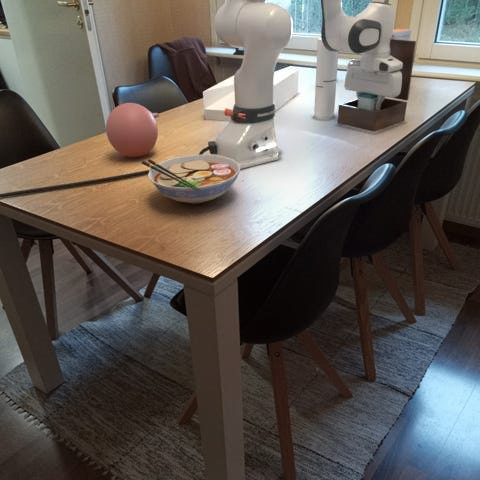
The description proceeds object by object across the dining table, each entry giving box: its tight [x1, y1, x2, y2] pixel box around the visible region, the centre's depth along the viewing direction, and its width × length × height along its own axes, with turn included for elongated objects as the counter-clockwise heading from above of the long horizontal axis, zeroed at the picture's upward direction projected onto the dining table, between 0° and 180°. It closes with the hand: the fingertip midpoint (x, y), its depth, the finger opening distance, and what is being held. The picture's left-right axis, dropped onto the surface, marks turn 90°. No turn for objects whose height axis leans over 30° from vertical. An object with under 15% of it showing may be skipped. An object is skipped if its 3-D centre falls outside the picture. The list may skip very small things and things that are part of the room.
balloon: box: [105, 102, 160, 158], centre depth 149 cm, size 15×20×15 cm
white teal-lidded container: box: [357, 93, 379, 111], centre depth 163 cm, size 6×5×8 cm
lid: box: [390, 39, 417, 102], centre depth 163 cm, size 17×16×5 cm
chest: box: [337, 97, 408, 133], centre depth 165 cm, size 17×16×7 cm
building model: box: [202, 69, 299, 122], centre depth 192 cm, size 45×22×10 cm, turn 157°
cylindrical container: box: [313, 37, 339, 119], centre depth 169 cm, size 7×7×25 cm
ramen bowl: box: [141, 153, 241, 205], centre depth 121 cm, size 25×23×8 cm
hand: (369, 108), depth 163 cm, fingers closed on white teal-lidded container, 5 cm apart
